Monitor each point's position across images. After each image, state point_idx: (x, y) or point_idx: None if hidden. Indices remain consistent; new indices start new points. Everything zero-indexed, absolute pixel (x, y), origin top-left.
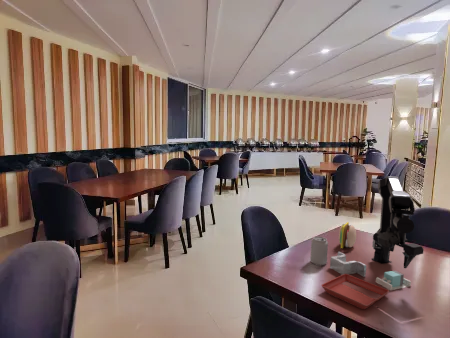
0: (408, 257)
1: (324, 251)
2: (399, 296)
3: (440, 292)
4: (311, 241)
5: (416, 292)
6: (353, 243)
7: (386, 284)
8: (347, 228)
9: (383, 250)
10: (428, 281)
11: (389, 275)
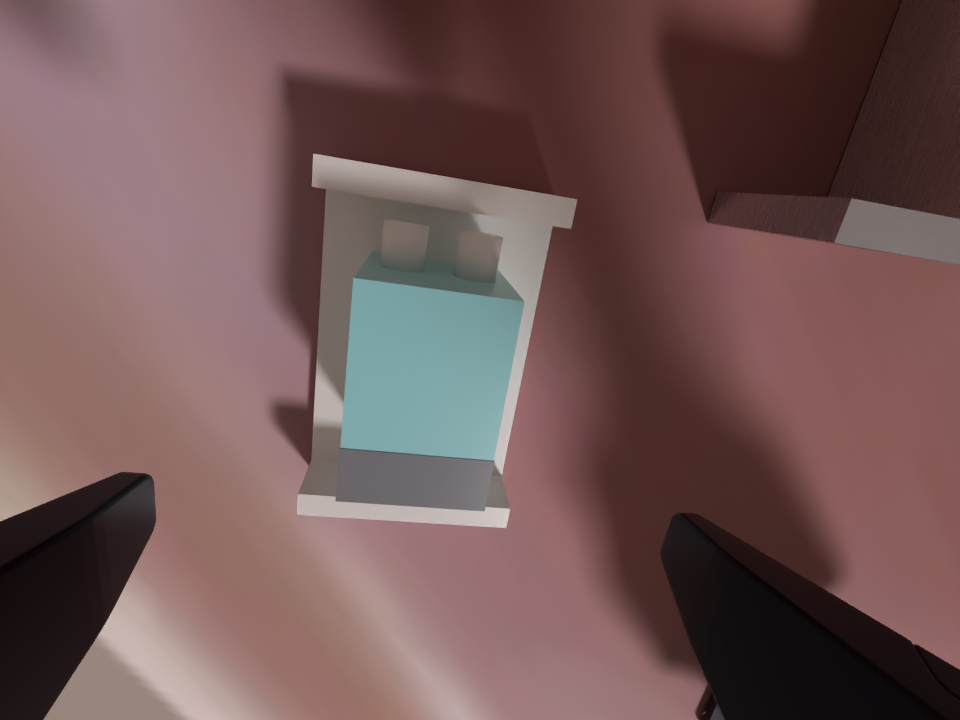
0: None
1: None
2: (193, 140)
3: (131, 620)
4: None
5: (205, 424)
6: None
7: (394, 168)
8: None
9: (888, 677)
10: (330, 701)
11: (419, 284)
